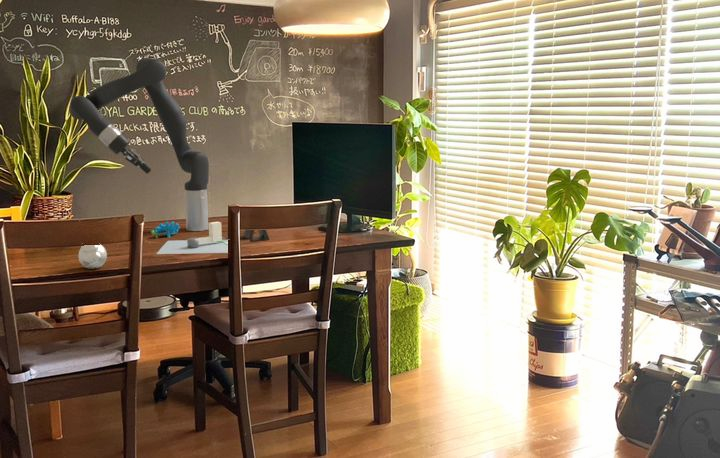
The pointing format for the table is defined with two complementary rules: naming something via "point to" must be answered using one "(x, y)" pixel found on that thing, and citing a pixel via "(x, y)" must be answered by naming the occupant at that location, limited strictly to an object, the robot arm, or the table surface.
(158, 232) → the blue toy animal
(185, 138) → the robot arm
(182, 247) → the board
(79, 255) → the grey round ball
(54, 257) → the table surface
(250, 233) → the door stopper
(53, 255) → the table surface
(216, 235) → the white l-shaped block
